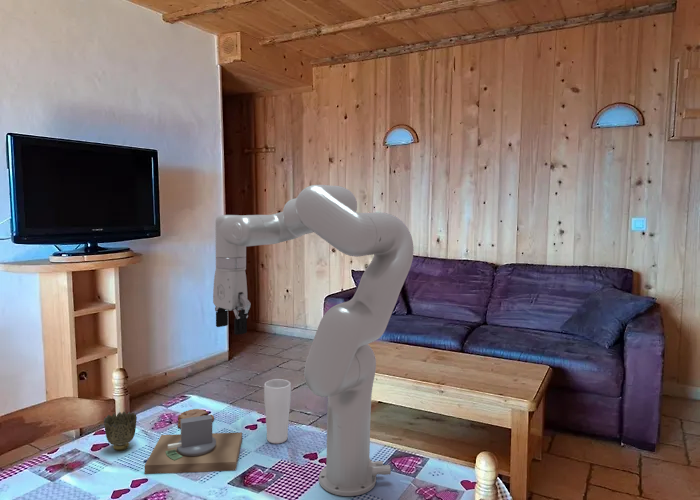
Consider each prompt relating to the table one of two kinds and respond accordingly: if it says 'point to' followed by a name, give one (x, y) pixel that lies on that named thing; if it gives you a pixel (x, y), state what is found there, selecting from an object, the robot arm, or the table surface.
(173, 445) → the tuning knob
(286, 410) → the drinking glass
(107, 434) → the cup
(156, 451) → the wooden board
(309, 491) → the table surface
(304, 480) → the table surface
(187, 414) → the cookie
